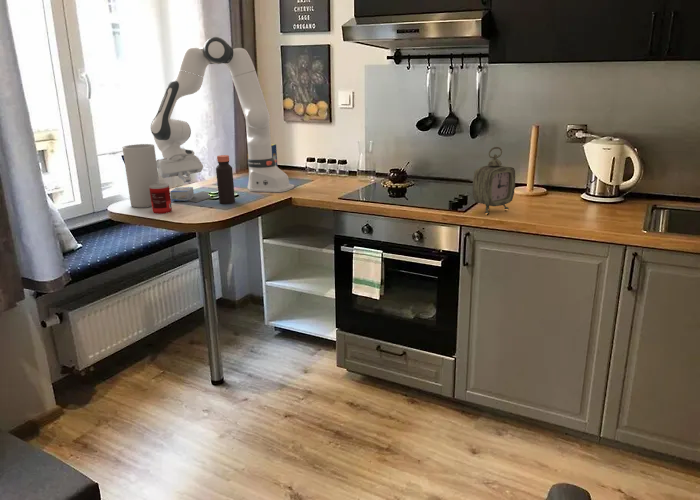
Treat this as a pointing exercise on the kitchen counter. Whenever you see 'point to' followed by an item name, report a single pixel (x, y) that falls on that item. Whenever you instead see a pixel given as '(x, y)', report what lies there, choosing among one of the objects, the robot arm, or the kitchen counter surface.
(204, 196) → the mat
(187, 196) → the medicine box
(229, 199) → the bottle
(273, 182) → the robot arm
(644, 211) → the kitchen counter surface
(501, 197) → the tabletop clock
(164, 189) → the canned food
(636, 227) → the kitchen counter surface
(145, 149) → the cylinder vase
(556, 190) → the kitchen counter surface
